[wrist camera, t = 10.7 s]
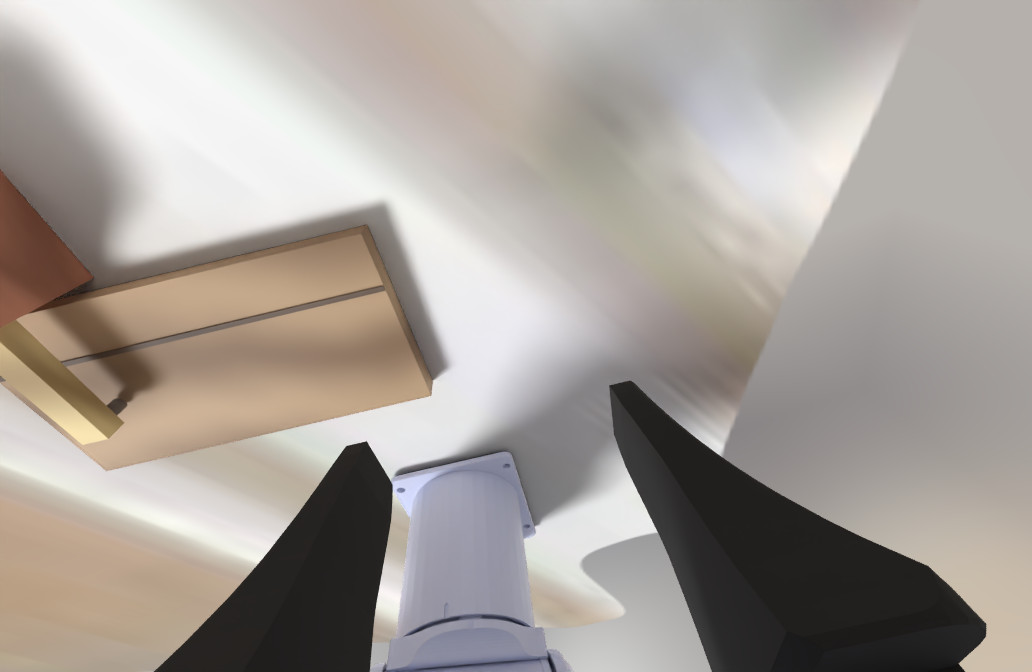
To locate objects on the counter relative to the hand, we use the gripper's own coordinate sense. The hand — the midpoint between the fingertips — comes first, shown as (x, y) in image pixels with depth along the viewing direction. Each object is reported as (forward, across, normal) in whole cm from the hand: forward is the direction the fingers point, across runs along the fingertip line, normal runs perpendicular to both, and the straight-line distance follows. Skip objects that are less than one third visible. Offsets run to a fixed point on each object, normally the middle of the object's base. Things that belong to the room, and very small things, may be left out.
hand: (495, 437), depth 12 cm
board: (+9, +13, 0) cm, 16 cm away
